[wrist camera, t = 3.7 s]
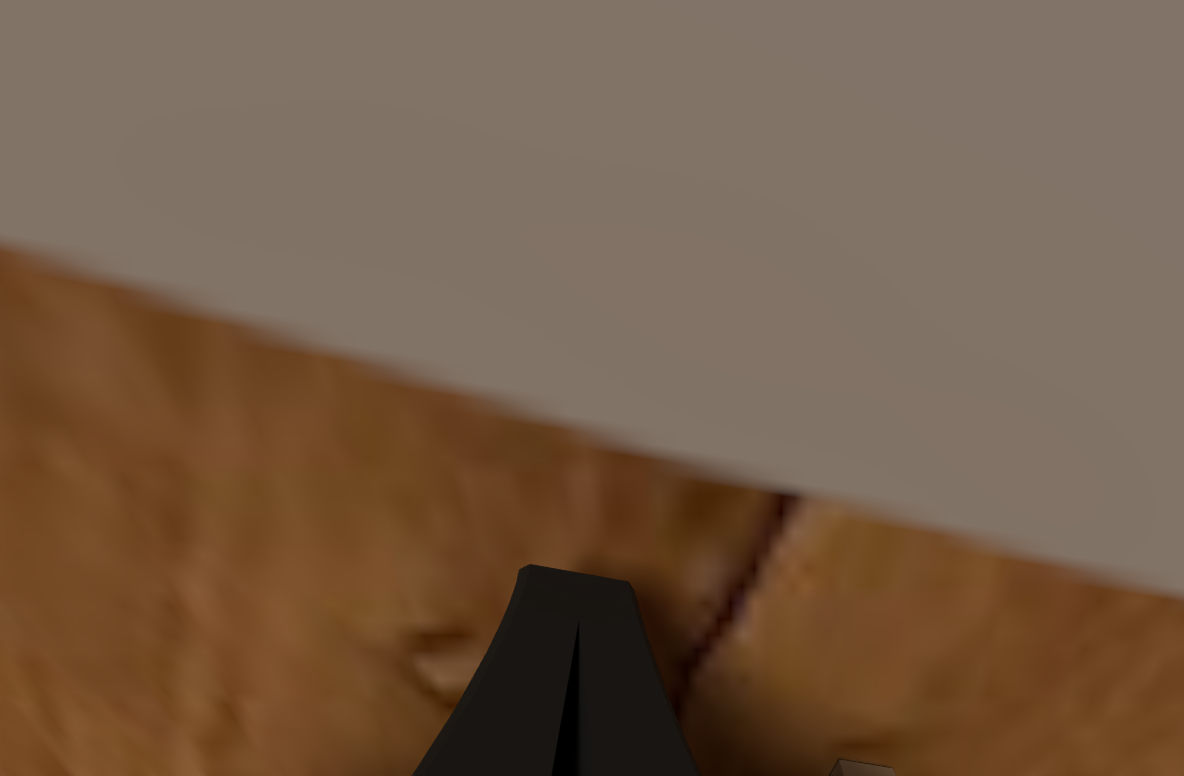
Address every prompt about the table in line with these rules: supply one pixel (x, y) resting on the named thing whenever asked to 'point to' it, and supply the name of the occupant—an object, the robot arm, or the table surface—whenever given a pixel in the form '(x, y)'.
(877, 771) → the wooden l-shaped bracket
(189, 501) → the table surface
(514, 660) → the robot arm
